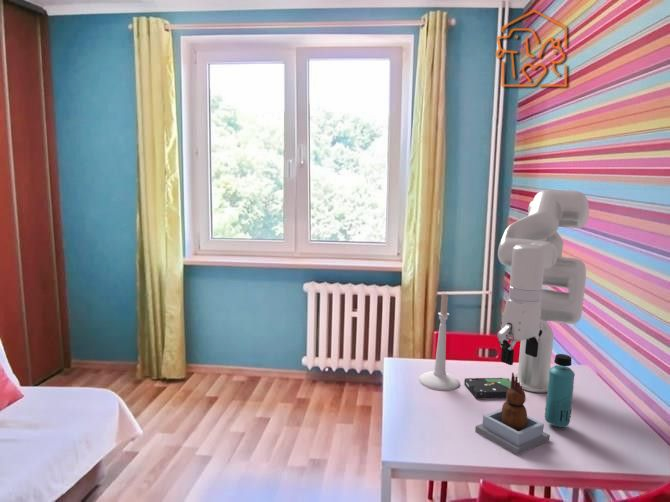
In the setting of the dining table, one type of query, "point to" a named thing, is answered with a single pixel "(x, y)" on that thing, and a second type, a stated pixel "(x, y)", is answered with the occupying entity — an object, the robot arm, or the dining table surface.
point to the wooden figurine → (514, 406)
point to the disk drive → (488, 387)
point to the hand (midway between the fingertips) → (519, 359)
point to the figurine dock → (512, 433)
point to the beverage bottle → (560, 392)
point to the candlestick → (440, 357)
